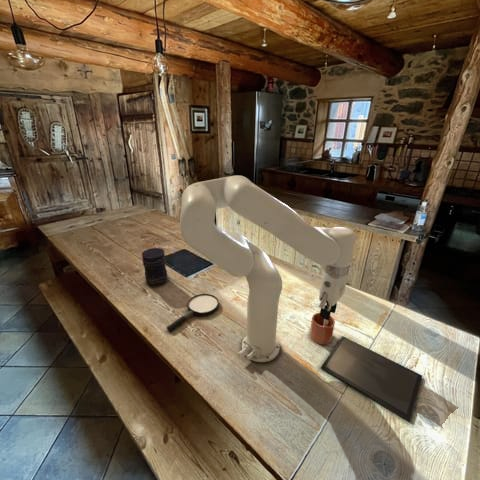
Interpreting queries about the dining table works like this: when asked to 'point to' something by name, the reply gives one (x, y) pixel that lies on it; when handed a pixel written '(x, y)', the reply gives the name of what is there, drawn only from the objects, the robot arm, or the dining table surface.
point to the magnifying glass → (197, 308)
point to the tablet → (374, 376)
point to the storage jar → (154, 267)
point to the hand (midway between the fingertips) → (327, 314)
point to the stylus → (326, 322)
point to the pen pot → (321, 329)
